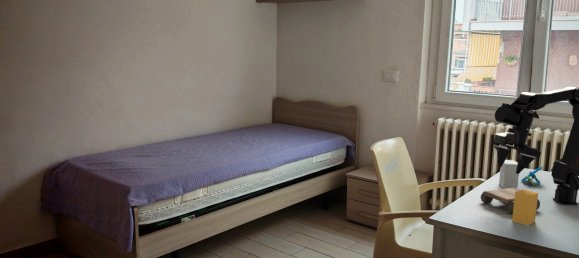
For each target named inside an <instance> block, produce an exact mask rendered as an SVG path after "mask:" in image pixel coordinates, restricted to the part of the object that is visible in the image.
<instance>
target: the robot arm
mask: <svg viewBox="0 0 579 258" xmlns="http://www.w3.org/2000/svg"><path fill="white" fill-rule="evenodd" d="M563 101H568V103H569V105H571V107H572V108H571V110H572V111H571V115H572V117H573V118H572V119H573V122H572V127H571V128H570V132H569V135H568V138H567V142H566V145H565V148H564V151H563V153H562V157H561V158H560V159H559V160H554V162H553V163H552V168H551V169H550V171H551V174H550V175H551V177H552V181H553V184H554V185H556V188H555V190H554V191H555V192H554V197H552V200H553V201H555V202H557V203H559V204H560V205H563V206H567V205H568V206H570V205H571V206H572V205H574V206H575V205H577V206H578V205H579V202H578V200H577V199H578V191H579V164H578V159H579V87H577V86H567V87H563V88H560V89H559V88H558V89H554V90H548V91H543V92H529V91H528V92H521V93H520V94H519V96H518V97H517V98H516V99H515V100H514V101H513V102H511V104H509V103H506V102H502V104H501V105H500V106H498V108H497V109H496V111H495V112H494V119H495V121H496V122H498V123H501V124H504V125H508V126H509V125H510V126H512V128H511V127H510V128H508V129H507V131H505V132H498V133H494V137H493V138H492V140H491V143H490V144H491V145H493V148H494V149H495V150H496V154H497V155H496V156H497V167H498V168H500V167H502V165H503V164H504V162H505V160H507V158H508V155H510V152H511V149H512V150H516V151H519V153H518V152H517V156H518V161H517V163H518V165H517V169H516V174H519V175H520V173H521V172H522V171H524V169H526V167H528V165H530V164H531V163H532V162H533V161H534V160H537V158H538V159H540V158H541V155H542V151H541V149H538V148H536V147H532V146H529V145H528V144H527V142H528V138H529V137H532V133H531V128H532V125H533V121H534V119H537V120H538V119H540V116H539V114H538V113H537V111H539V110H541V109H543V108H545V106H547V105H550V104H554V103H555V104H556V103H559V102H563Z"/></svg>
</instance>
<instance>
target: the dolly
mask: <svg viewBox="0 0 579 258" xmlns="http://www.w3.org/2000/svg"><path fill="white" fill-rule="evenodd" d="M520 190H521V189H520V188H519V189H518V188H517V189H516V188H504V189H503V188H500V189H494V190H493V189H492V190H484V191H483V192H482V193H481V195H480V201H481V202H482V203H484V204H487V205H489V204H491V203H492V202H493V201H494V200H496V201H499V202H502V203H504V204H507V205H506V211H507V212H508V213H510V214H512V215H513V209H514V199H515V192H517V191H520ZM540 206H541V200H539V199H538V200H537V208H536V211H538V210H539V208H540Z"/></svg>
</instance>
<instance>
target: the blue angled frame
mask: <svg viewBox="0 0 579 258" xmlns="http://www.w3.org/2000/svg"><path fill="white" fill-rule="evenodd" d="M542 169H543V166H539V167H538V168H536V169H535V170H533V171H530V172H528V174H527V175H526V176H525V177H523V178H522V179H521V182H524V181H526V180H527V181H528V183H530V184H532V186H536V184H535V183H534V182H533V180H535V182H536V183H537V184H538V185H539V184H541V181H540V180H539V179H538V178H537V175H536V173H538V172H539V171H540V170H542Z"/></svg>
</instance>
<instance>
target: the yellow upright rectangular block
mask: <svg viewBox="0 0 579 258" xmlns="http://www.w3.org/2000/svg"><path fill="white" fill-rule="evenodd" d="M519 190H520V191H517V192H515V199H514V209H513V214H512V221H511V222H515V223H517V224H521V225H525V226H529V225H531V224H533V223H536V217H537V216H536V215H537V210H536V208H537V200H539V198H538V197H539V192H536V191H532V190H529V189H528V190H527V189H519Z"/></svg>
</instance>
